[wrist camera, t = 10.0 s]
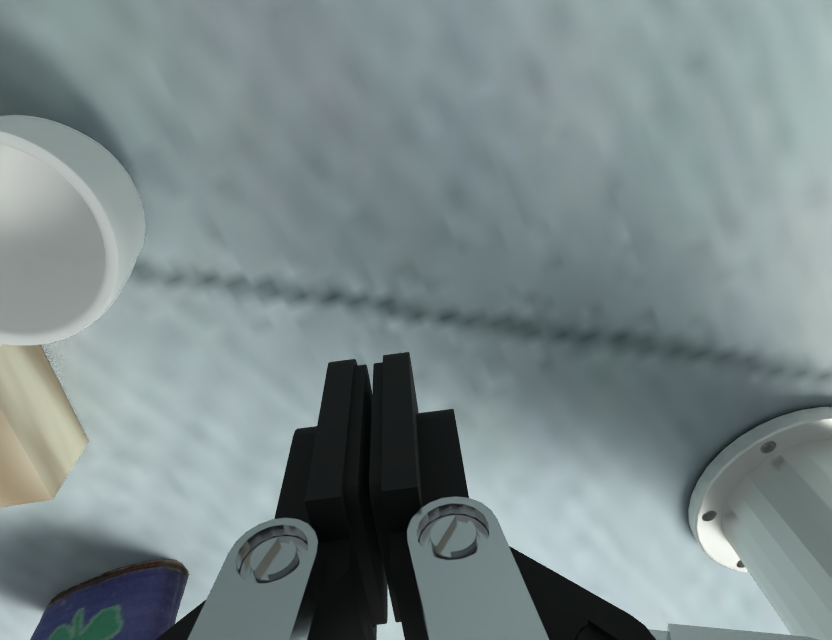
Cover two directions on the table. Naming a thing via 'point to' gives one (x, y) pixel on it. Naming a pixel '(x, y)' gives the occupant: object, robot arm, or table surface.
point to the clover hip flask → (118, 605)
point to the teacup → (61, 230)
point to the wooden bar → (34, 428)
